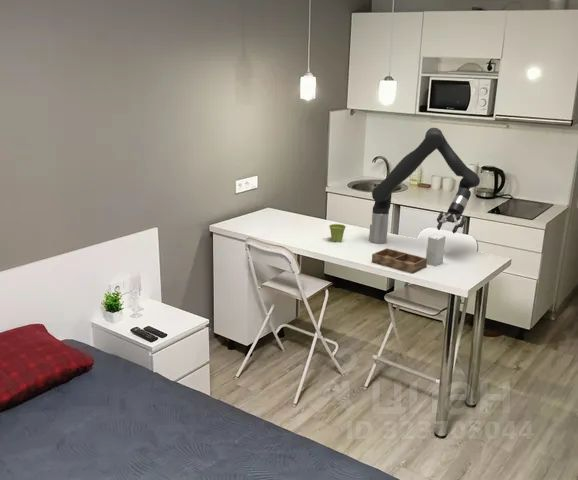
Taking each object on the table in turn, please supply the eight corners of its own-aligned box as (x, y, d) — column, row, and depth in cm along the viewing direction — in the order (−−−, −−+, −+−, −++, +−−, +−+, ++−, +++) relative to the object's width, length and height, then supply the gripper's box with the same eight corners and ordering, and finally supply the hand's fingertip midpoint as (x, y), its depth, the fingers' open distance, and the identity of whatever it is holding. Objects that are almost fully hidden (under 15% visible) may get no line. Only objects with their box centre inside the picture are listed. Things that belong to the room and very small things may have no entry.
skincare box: (433, 260, 322) (436, 233, 318) (443, 263, 318) (446, 235, 314) (424, 263, 316) (427, 236, 312) (435, 266, 312) (438, 238, 308)
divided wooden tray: (371, 262, 316) (372, 254, 315) (386, 256, 326) (387, 248, 325) (412, 273, 301) (413, 264, 300) (426, 266, 311) (427, 258, 310)
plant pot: (325, 239, 354) (326, 224, 351) (339, 237, 358) (340, 223, 355) (333, 243, 346) (334, 229, 343) (348, 241, 350) (348, 227, 347)
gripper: (443, 199, 326) (431, 224, 321) (468, 204, 317) (456, 229, 312) (447, 207, 332) (435, 232, 327) (472, 212, 323) (460, 237, 318)
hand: (445, 230), depth 320 cm, fingers open, 8 cm apart
